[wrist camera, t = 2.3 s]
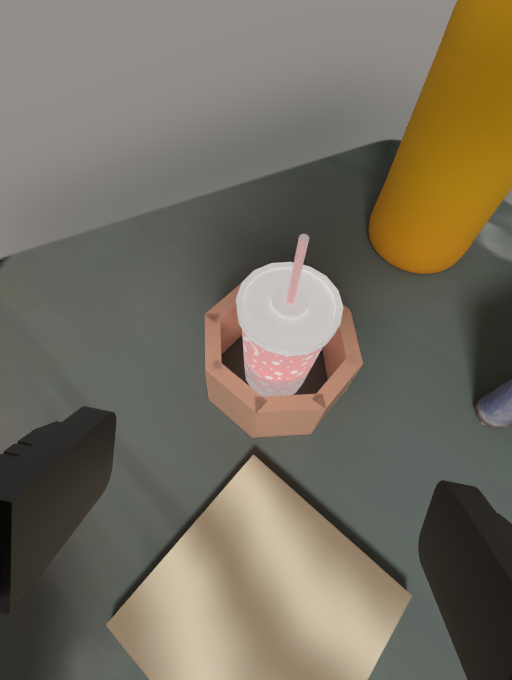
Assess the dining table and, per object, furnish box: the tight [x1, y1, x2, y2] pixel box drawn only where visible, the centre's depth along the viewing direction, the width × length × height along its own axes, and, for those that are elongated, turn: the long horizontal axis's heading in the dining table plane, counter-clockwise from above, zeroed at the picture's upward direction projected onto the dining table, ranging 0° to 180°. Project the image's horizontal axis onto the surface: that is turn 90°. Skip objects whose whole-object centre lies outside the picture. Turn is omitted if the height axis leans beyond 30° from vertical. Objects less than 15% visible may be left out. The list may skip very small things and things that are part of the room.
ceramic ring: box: [205, 284, 363, 438], centre depth 28 cm, size 10×10×5 cm
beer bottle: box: [368, 0, 512, 274], centre depth 25 cm, size 9×9×29 cm
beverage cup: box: [236, 234, 343, 396], centre depth 24 cm, size 6×6×14 cm
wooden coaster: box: [106, 455, 412, 680], centre depth 22 cm, size 12×12×1 cm
